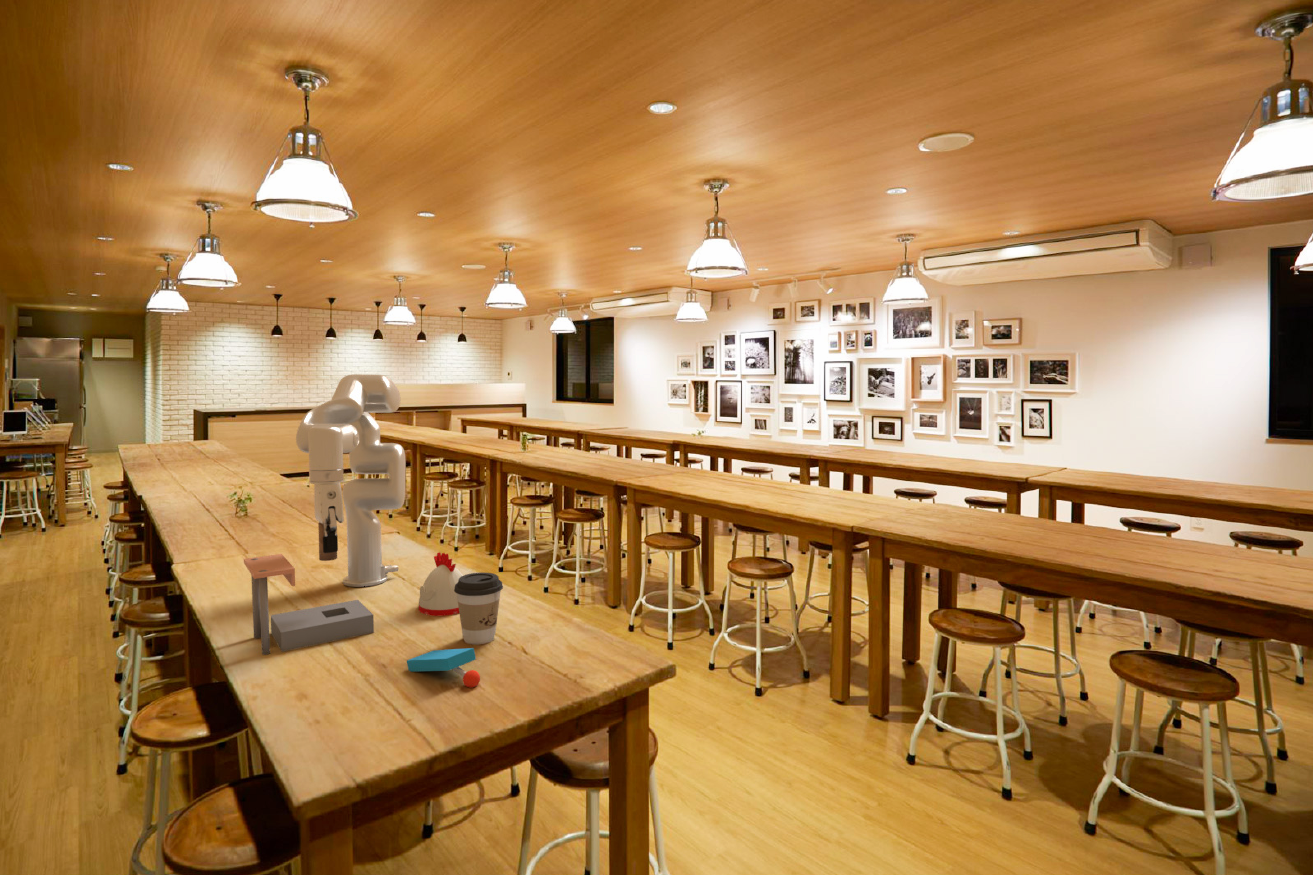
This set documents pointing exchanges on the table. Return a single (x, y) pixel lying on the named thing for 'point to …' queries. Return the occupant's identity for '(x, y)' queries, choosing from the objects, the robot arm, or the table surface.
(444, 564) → the kitchen timer
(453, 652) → the lever
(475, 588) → the coffee cup
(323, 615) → the socket block
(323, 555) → the walnut peg
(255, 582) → the pink topped stand
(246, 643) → the table surface
